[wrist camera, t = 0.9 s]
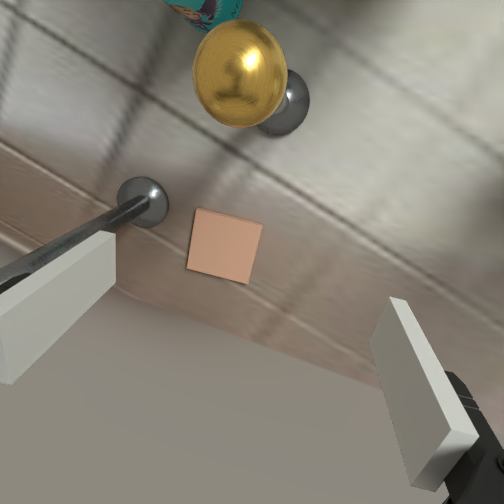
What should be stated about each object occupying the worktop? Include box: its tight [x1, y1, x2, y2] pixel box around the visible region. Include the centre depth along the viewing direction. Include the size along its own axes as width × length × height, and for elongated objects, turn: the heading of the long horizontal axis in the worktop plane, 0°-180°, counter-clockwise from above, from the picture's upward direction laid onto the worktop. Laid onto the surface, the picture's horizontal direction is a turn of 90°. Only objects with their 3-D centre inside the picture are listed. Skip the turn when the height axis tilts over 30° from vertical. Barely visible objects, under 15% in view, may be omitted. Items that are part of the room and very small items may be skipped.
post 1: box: [0, 177, 169, 285], centre depth 26 cm, size 6×6×27 cm
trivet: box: [187, 207, 263, 284], centre depth 39 cm, size 8×8×1 cm
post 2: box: [192, 19, 310, 135], centre depth 20 cm, size 6×6×27 cm
